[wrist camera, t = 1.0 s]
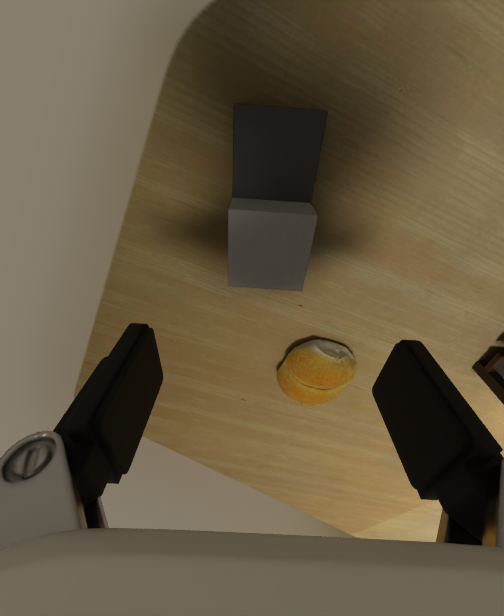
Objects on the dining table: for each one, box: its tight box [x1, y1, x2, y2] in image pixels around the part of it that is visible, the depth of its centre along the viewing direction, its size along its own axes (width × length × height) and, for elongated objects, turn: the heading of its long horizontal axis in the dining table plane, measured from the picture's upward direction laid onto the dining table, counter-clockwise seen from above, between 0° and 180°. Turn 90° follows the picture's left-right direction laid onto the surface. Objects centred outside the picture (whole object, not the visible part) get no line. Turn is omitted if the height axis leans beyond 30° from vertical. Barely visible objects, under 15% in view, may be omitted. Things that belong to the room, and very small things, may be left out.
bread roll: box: [277, 339, 356, 405], centre depth 29 cm, size 8×9×4 cm
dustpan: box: [228, 103, 328, 291], centre depth 17 cm, size 11×6×4 cm, turn 177°
